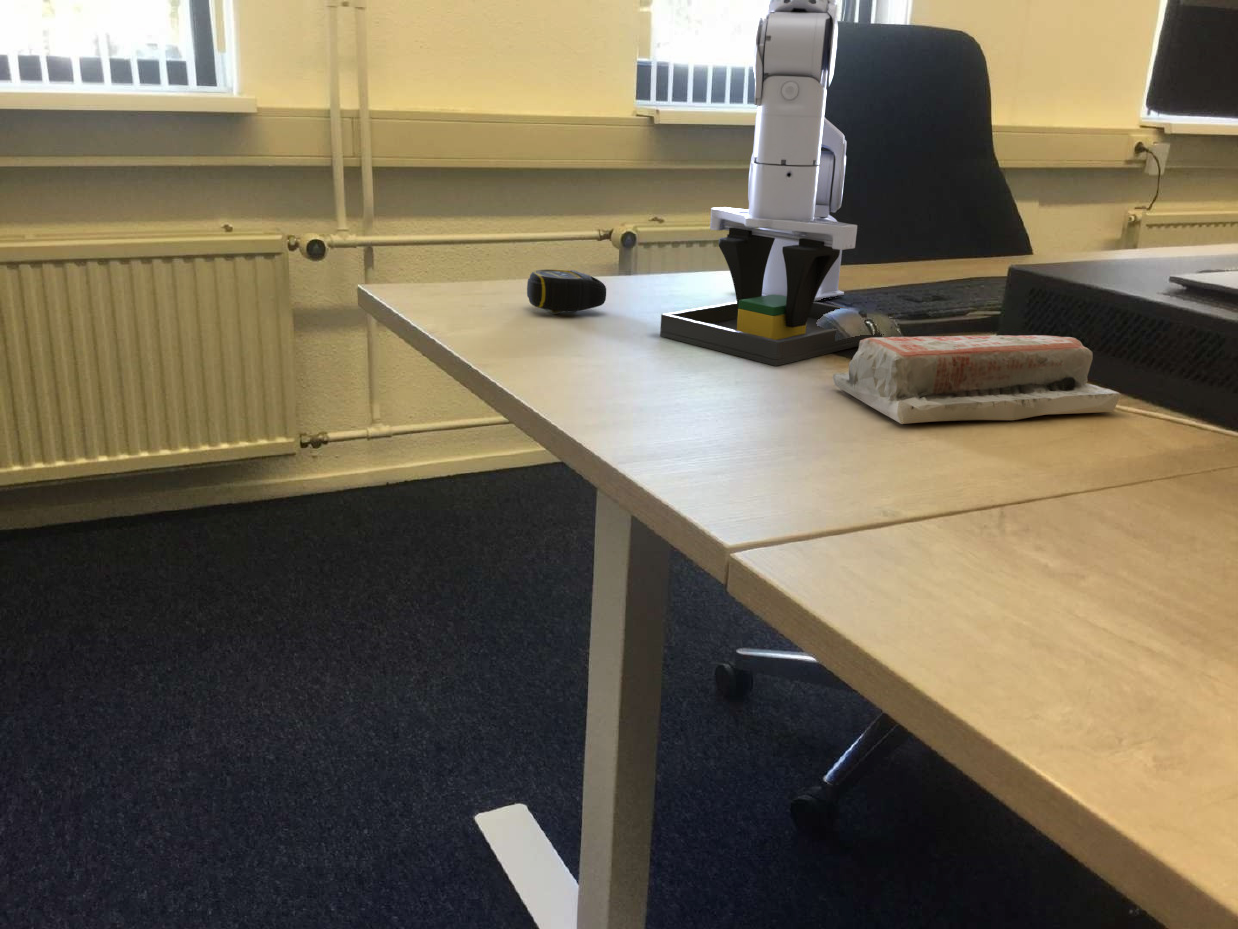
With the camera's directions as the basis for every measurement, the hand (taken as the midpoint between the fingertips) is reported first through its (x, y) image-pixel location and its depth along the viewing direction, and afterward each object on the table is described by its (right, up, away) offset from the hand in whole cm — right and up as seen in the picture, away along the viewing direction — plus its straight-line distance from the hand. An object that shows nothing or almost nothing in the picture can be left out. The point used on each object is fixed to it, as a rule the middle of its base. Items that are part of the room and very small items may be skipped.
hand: (771, 320), depth 94 cm
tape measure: (-19, +2, +9) cm, 21 cm away
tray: (+1, -1, +1) cm, 2 cm away
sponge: (0, -1, 0) cm, 1 cm away
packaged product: (+12, -8, -17) cm, 22 cm away
